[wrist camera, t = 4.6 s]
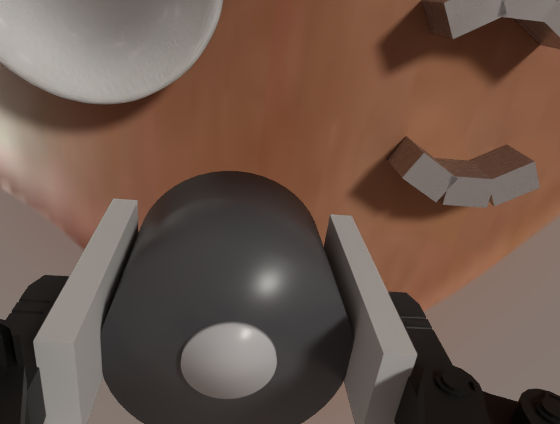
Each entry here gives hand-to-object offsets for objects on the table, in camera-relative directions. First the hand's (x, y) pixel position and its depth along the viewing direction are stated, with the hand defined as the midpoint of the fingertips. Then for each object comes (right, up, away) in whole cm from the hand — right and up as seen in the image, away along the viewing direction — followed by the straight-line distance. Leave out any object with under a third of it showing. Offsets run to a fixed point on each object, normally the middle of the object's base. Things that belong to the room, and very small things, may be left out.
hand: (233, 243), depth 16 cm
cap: (0, 0, +1) cm, 1 cm away
